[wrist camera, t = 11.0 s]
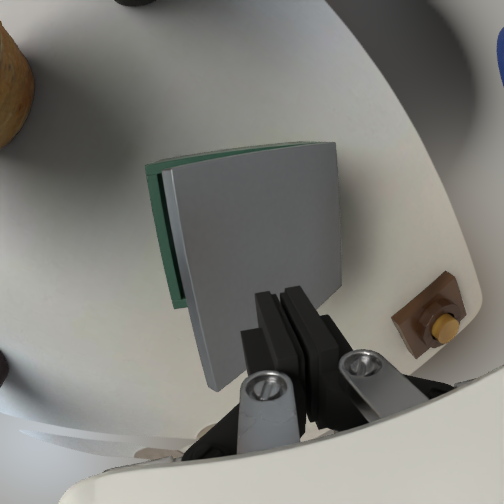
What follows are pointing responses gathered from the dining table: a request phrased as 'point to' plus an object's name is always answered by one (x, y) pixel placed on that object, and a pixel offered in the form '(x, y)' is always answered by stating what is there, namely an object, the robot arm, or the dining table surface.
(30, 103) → the potted plant
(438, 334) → the button
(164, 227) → the tin
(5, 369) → the wine bottle
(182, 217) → the tin lid
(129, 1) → the travel mug
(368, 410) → the robot arm
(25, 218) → the dining table surface
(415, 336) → the button block
